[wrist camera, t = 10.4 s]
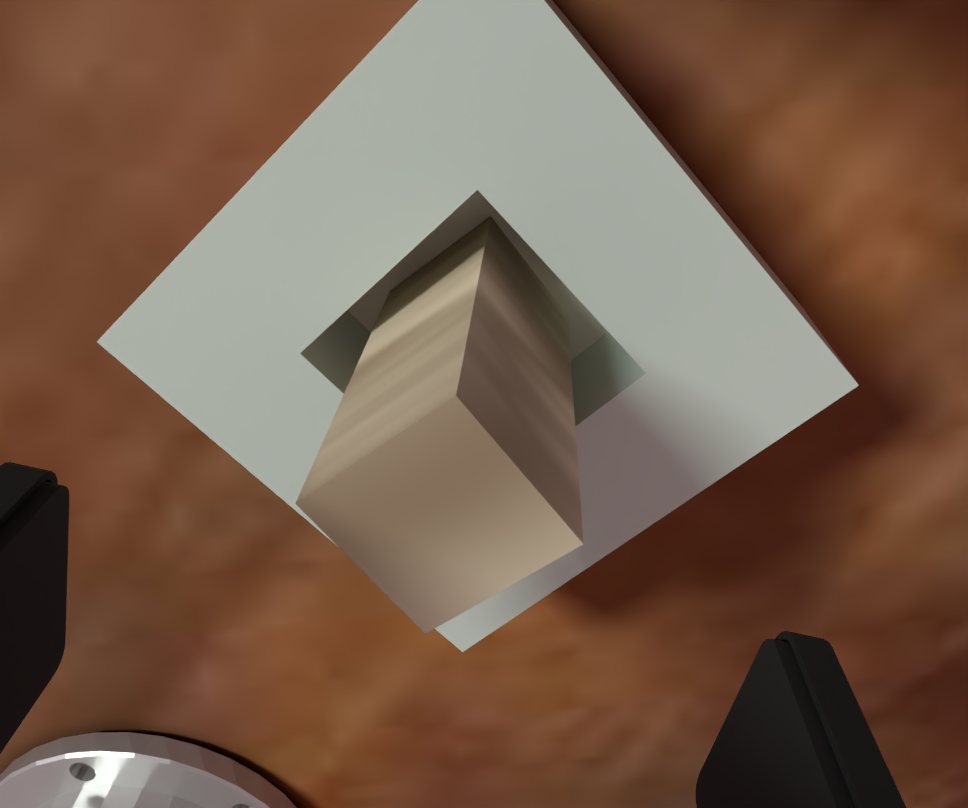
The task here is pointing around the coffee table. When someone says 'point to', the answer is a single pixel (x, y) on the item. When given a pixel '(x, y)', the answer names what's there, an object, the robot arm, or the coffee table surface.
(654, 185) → the grey square socket block
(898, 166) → the coffee table surface
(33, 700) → the robot arm
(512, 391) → the birch stick
